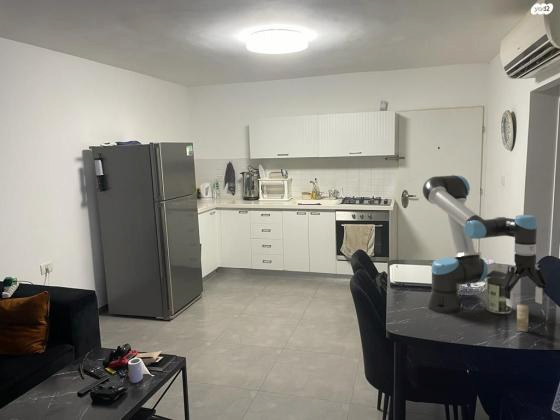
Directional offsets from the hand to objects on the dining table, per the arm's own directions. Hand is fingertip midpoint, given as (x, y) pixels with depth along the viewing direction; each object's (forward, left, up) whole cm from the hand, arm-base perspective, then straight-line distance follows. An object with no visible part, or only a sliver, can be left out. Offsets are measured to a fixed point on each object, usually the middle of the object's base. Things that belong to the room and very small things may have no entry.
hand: (524, 304), depth 168 cm
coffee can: (+6, +22, -11) cm, 26 cm away
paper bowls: (+37, +77, -11) cm, 87 cm away
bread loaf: (0, 0, -11) cm, 11 cm away
